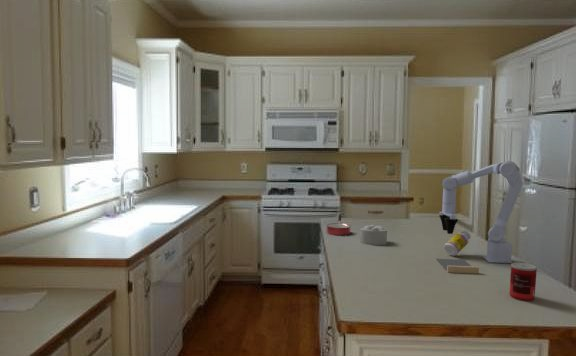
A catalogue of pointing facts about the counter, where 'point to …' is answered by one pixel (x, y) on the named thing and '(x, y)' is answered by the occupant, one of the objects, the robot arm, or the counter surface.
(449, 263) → the mat
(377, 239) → the lumpy-topped squat cylinder
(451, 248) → the supplement bottle
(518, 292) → the canned food
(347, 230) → the frying pan
